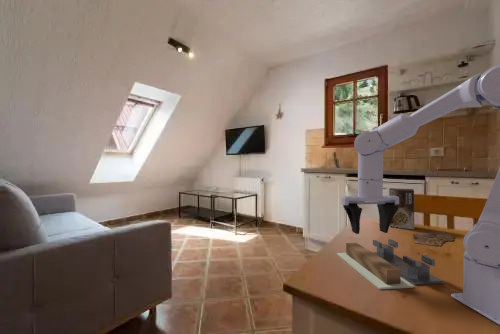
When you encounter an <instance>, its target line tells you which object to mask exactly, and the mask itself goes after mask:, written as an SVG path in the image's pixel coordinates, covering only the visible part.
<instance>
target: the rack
mask: <svg viewBox="0 0 500 334" xmlns="http://www.w3.org/2000/svg"><path fill="white" fill-rule="evenodd" d="M387 241H388V242H387V243H382V242H381V241H378V240H377V239H372V246H374V247H376V251H372V252H373V253H374V254H376V255H377V256H379V257H381V258H382V259H384V260H386V261H387V262H389V263H391V264H392V265H394V266H396V267H397V268H399V269H400V270H401V275H400V277H401V278H403V279H404V280H406V281H407V282H409V283H411V284H412V285H414V286H420V285H421V286H423V285H438V284H444V280H443V279H441V278H439V277H437V276H436V275H433V273H432V274H431V273H430V271H431V270H430V268H431V267H434V266H436V260H435V259H434V258H432V257H430V256H428V255H426V254H421V255H420V258H421V261H420V260H416V259H413V258H412V257H409V256H408V255H403V256H402V257H400V256H398V255H397V254H394V253H395V252H394V249H396V248H399V242H398V241H395V240H393V239H391V238H390V239H388V238H387ZM430 266H431V267H430Z"/></svg>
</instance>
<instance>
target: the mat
mask: <svg viewBox="0 0 500 334" xmlns="http://www.w3.org/2000/svg"><path fill="white" fill-rule="evenodd" d="M336 255H337V256H338V257H339V258H341V259H342V260H343V261H344V262H346V263H347V264H348V265H349V266H350V267H351V268H353V269H354V270H355V271H357V272H358V273H359V274H360V275H361V276H362V277H363V278H365V279H366V280H367V281H369V283H371V284H372V285H373V286H374V287H376V288H377V289H378V290H392V289H393V290H394V289H395V290H396V289H411V288H414V287H415V285H414V284H412V283H411V282H409V281H408V280H406V279H405V278H403V277H401V276H400V284H390V285H387V284H385V283H384V282H383V281H381V280H380V279H379V278H377V277H376V276H375V275H373V274H372V273H371V272H369V271H368V270H367V269H365V268H364V267H363V266H361V265H360V264H359V263H358V262H356V261H355V260H354V259H352V258H351V257H350V256H348V255H347V254H346V252H336Z"/></svg>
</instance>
